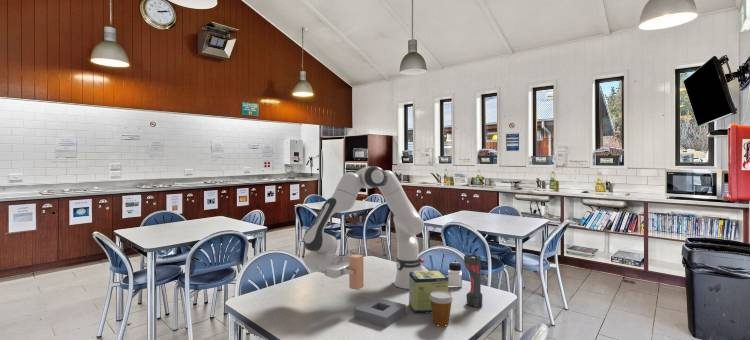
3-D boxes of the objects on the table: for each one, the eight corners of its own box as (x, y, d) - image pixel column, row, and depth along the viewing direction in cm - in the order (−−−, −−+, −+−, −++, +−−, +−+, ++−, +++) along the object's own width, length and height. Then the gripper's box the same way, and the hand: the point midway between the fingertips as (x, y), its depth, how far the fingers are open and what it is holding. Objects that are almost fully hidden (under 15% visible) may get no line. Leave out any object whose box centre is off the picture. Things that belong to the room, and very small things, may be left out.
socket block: (375, 305, 171) (375, 296, 171) (406, 313, 162) (406, 304, 162) (354, 317, 158) (354, 308, 158) (386, 327, 149) (386, 317, 149)
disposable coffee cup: (426, 318, 158) (427, 290, 157) (448, 318, 158) (449, 290, 158) (432, 329, 148) (432, 299, 148) (455, 328, 149) (456, 298, 149)
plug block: (355, 285, 167) (355, 254, 166) (363, 287, 164) (363, 255, 164) (349, 288, 163) (349, 256, 163) (357, 290, 161) (357, 257, 160)
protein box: (448, 312, 165) (449, 277, 164) (414, 314, 162) (414, 278, 162) (440, 303, 175) (441, 270, 174) (408, 304, 172) (408, 271, 172)
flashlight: (461, 301, 177) (461, 253, 176) (477, 301, 178) (477, 253, 177) (466, 308, 169) (467, 257, 168) (483, 307, 170) (484, 257, 169)
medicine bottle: (461, 288, 195) (462, 265, 194) (447, 287, 196) (448, 264, 196) (461, 283, 202) (461, 261, 201) (448, 282, 203) (448, 260, 203)
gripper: (318, 264, 162) (342, 269, 154) (347, 253, 179) (371, 258, 171) (318, 278, 162) (343, 284, 154) (347, 266, 179) (371, 271, 171)
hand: (358, 270), depth 163 cm, fingers closed on plug block, 4 cm apart
